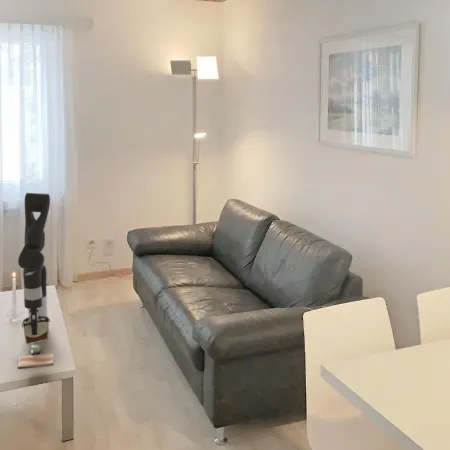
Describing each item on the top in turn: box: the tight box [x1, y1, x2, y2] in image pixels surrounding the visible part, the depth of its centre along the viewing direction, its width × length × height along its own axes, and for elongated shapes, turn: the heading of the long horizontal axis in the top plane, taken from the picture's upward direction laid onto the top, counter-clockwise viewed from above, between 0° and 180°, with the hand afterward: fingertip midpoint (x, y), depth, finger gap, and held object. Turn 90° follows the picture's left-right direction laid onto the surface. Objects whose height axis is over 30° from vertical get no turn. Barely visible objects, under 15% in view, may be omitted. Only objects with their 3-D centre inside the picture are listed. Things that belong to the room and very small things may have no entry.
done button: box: [31, 344, 41, 351], centre depth 267 cm, size 3×3×2 cm
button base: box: [30, 349, 42, 355], centre depth 268 cm, size 4×4×1 cm
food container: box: [21, 316, 51, 345], centre depth 257 cm, size 12×6×10 cm, turn 126°
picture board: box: [17, 352, 54, 370], centre depth 261 cm, size 11×15×1 cm
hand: (34, 331), depth 257 cm, fingers closed on food container, 7 cm apart
